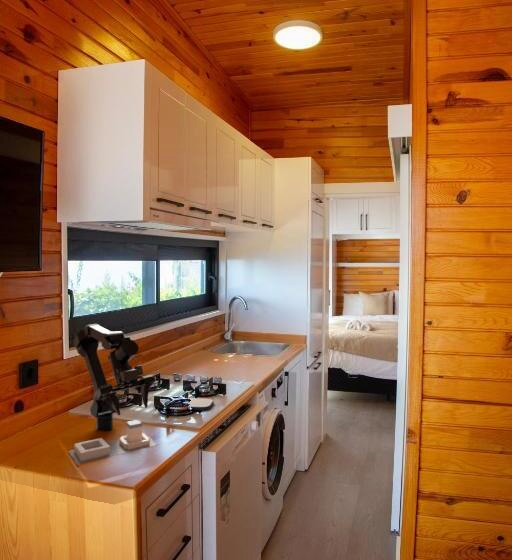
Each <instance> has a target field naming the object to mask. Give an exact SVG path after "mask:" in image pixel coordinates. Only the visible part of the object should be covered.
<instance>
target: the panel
mask: <svg viewBox="0 0 512 560" xmlns="http://www.w3.org/2000/svg"><path fill="white" fill-rule="evenodd" d="M73 444H74V445H73V447H74V449H71V450H68V451H67V454H68V456H69V457H70V459H71V460H72V462H73V463H74V465H75V466H76V467H77V468H79V467H80V466H79V465H80V464H84V463H88V462H93V461H97V460H101V459H105V458H110V457H114V456H117V455H118V456H119V455H122V454H126V453H130V452H135V451H138V450H139V451H140V450H142V449H147V448H152V447H156V446H159V444H158V443H157V442H156V441H155V440H153V439H152V437H150V436H149V435H148V434H146V433H144V432H142V441H137V442H133V443H128V442H127V434H126V435H122V436H120V437H119V439H114V440H110V441H107V442H106V440H104V439H103V437H99V438H95V439H91V440H90V439H89V440H85V441H81V442H77V443H76V442H75V443H73Z"/></svg>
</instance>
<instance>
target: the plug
mask: <svg viewBox="0 0 512 560" xmlns="http://www.w3.org/2000/svg"><path fill="white" fill-rule="evenodd" d="M125 423H126V425H125V426H126V428H125V429H126V431H125V432H126V435H127V442H128V443H133V442H137V441H142V433H143V423H142V422H141V421H140V420H139V419H134V420H130V421H126V422H125Z"/></svg>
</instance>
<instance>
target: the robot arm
mask: <svg viewBox="0 0 512 560" xmlns="http://www.w3.org/2000/svg"><path fill="white" fill-rule="evenodd" d="M100 342H101V347H102V348H103V349H104V350H105V351H110V350H113V351H110V352H109V354H108V356H107V360H109V361H110V365H111V368H112V372H113V373H112V374H113V378H114V380H115V382H116V385H115V386H113V385H112V384H110V383H109V384H108V381H107V378H106V376H105V373H104V370H103V367H102V363H101V361H100V360H101V359H100V358H99V355H98V349H99V345H100V344H99V343H100ZM73 346H74V348H75V349H76V351H77V353H78V354H79V355H80V356H81V357H82V358H84V361H85V364H86V367H87V369H88V373H89V376H90V379H91V382H92V385H93V389H94V395H93V399H92V400H93V402H92V404H91V407H90V408H89V410H90V415H91V416H93V417H94V418H96V427H94V428H93V430H97V431H102V432H109V431H112V430H113V428H114V416H113V415H114V414H117V415H118V416H120V415H121V411H120V410H121V409H120V403H121V401H120V397H119V396H118V393H117V392H120V391H125V390H128V389H133V388H137V387H139V388H140V394H141V398H142V402H143V406H144V408H145V409H147V408H148V406H149V405H148V402H149V391H150V389H151V387H153V385H154V384H155V383H156V381H157V380H156V377H155V376H154V375H153V374H148V375H144V376H142V375H143V374H144V370H143V368H142V365H141V364H139V365H135V366H134V368H133V367H132V365H131V364H130V362H129V361H131V360H132V358H134V356H136V355H137V354H138V352H139V345H138V343H137V342H136V341H134V340H133V339H131V338H130V336H126V335H125V333H124V332H123V331H118V330H117V331H116V330H115V331H111V330H109V329H107V328H105V327H103V326H101V325H100V324H98V323H93V324H87V325H85V326H84V327H83V329H82V330H80V331H79V332H78V333H76V335H75V337H74V339H73ZM139 376H142V377H141V378H140V379H139Z"/></svg>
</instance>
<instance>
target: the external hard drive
mask: <svg viewBox="0 0 512 560" xmlns="http://www.w3.org/2000/svg"><path fill="white" fill-rule="evenodd" d="M170 398H172V396H171V397H170ZM187 398H188V399H190V400H191V401H190V402H189V403H188V404H190V405H189V406H188V407H191V408H194V409H196V410H200V412H202V411H203V412H206V411H210V410H211V409H212V407H213V405H214V400H213V399H211V398H203V397H202V398H201V397H200V398H198V397H195V398H194V397H187Z"/></svg>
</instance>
